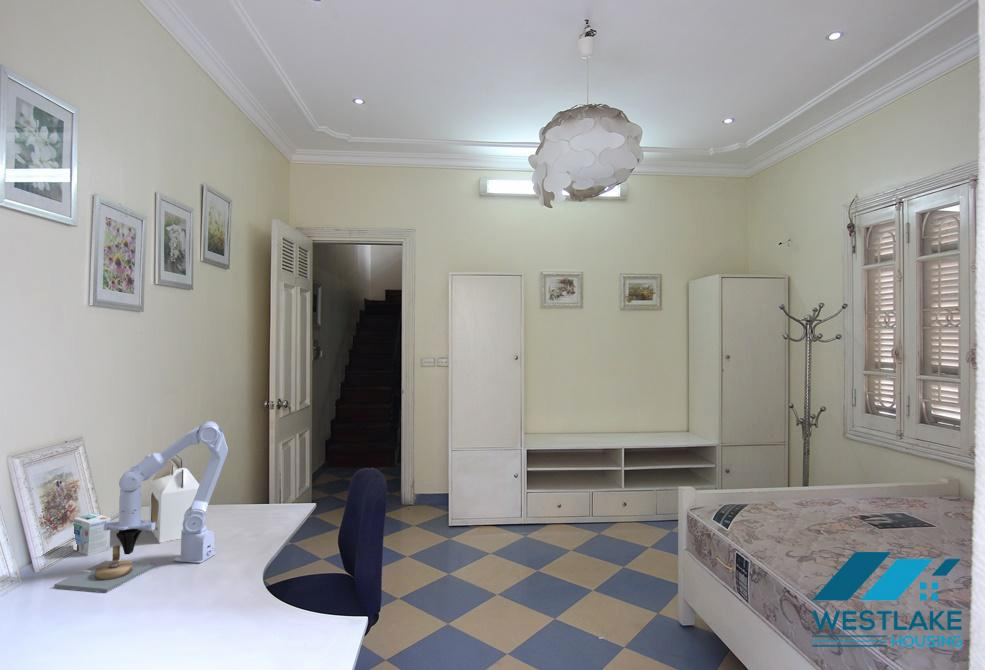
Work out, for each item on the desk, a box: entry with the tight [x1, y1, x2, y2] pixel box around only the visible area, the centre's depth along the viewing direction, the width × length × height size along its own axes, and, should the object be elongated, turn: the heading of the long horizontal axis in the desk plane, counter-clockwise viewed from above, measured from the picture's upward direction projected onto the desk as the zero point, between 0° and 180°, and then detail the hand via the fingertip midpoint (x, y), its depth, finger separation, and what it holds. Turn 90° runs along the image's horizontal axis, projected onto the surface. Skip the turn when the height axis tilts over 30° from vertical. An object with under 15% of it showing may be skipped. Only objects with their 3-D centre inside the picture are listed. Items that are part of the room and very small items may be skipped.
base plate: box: [53, 560, 155, 593], centre depth 156 cm, size 17×17×1 cm
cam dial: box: [95, 544, 133, 580], centre depth 158 cm, size 12×9×6 cm
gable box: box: [148, 454, 200, 544], centre depth 196 cm, size 22×13×28 cm, turn 41°
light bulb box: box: [72, 512, 112, 557], centre depth 177 cm, size 11×7×11 cm, turn 62°
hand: (128, 553), depth 163 cm, fingers closed
